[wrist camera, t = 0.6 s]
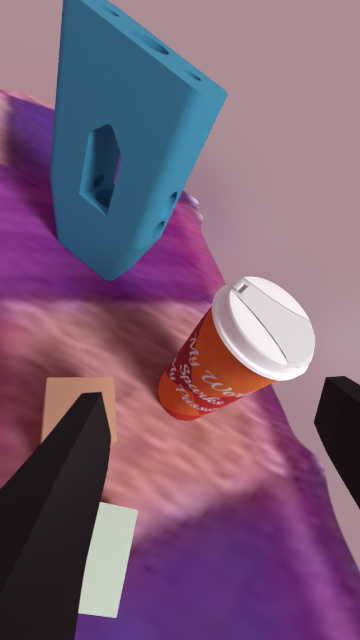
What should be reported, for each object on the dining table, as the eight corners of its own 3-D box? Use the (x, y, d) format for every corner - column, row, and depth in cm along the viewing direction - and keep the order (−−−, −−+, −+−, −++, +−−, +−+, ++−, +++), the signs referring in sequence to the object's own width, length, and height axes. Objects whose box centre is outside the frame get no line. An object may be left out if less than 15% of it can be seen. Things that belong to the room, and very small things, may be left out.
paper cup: (130, 390, 26) (200, 301, 16) (177, 345, 31) (252, 256, 21) (191, 452, 25) (307, 400, 15) (229, 395, 30) (333, 328, 20)
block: (42, 227, 32) (57, -18, 18) (74, 215, 36) (108, 0, 21) (120, 293, 32) (202, 94, 17) (145, 274, 35) (231, 95, 21)
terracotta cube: (101, 455, 22) (116, 441, 18) (38, 463, 20) (41, 449, 16) (100, 399, 24) (113, 377, 21) (43, 401, 22) (47, 377, 19)
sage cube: (97, 598, 18) (116, 617, 14) (23, 588, 16) (23, 605, 13) (117, 513, 20) (138, 510, 17) (56, 499, 19) (63, 493, 16)
